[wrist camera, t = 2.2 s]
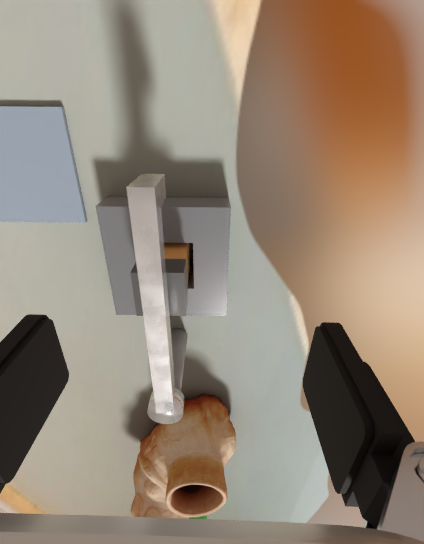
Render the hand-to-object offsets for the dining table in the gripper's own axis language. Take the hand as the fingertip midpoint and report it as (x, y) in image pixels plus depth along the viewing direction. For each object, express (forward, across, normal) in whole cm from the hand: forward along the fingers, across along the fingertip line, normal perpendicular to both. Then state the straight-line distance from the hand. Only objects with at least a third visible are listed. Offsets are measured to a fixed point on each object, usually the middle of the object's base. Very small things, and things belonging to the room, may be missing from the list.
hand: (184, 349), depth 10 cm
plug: (+26, +4, +8) cm, 27 cm away
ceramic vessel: (+26, +4, +46) cm, 53 cm away
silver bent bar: (+18, +4, +11) cm, 21 cm away
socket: (+26, +4, +12) cm, 29 cm away
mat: (+25, +21, -2) cm, 33 cm away
